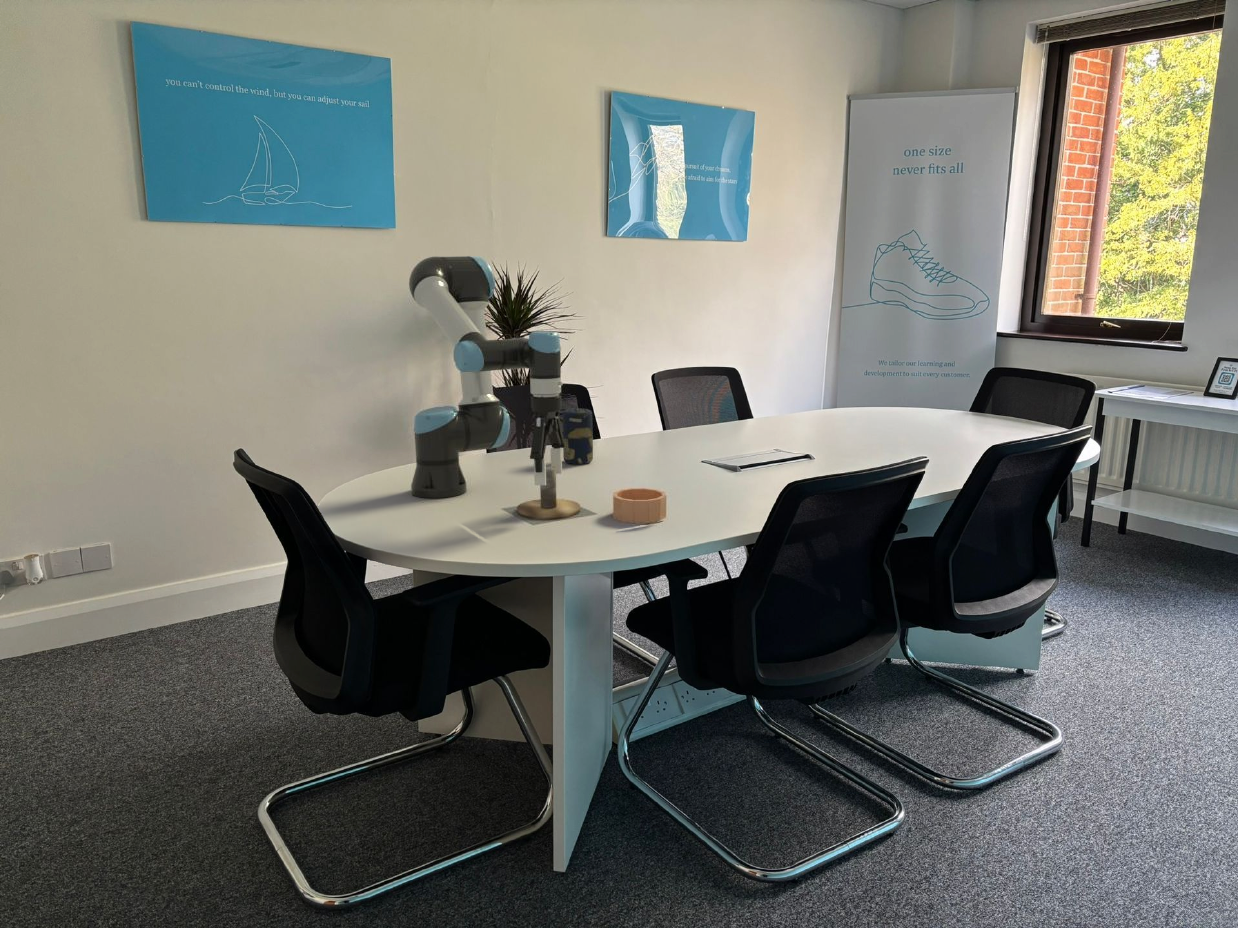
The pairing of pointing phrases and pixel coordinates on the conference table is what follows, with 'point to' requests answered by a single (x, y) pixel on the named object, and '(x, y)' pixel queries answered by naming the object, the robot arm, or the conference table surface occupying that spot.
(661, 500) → the bowl
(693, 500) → the conference table surface
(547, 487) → the lid
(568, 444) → the canister
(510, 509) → the mat
